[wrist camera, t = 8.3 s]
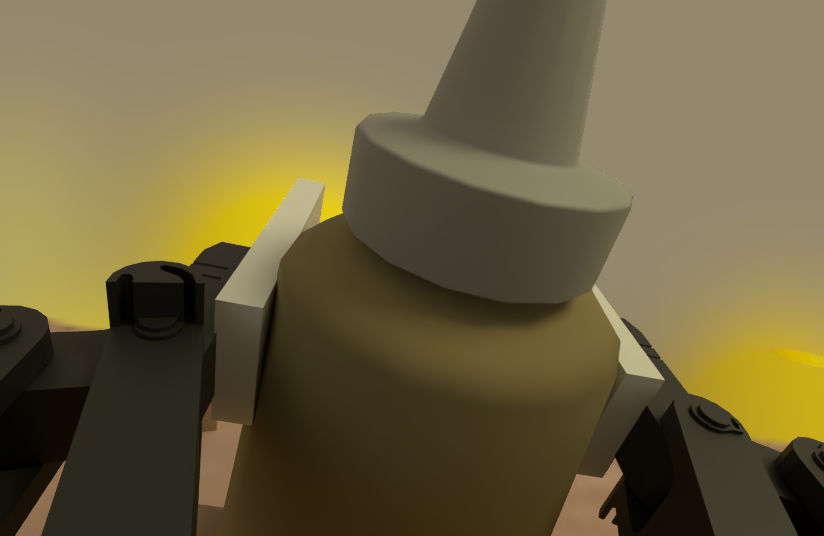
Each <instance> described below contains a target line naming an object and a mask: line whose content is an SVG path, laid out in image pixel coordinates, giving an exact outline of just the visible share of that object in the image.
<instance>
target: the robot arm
mask: <svg viewBox="0 0 824 536" xmlns="http://www.w3.org/2000/svg"><path fill="white" fill-rule="evenodd" d="M324 189H325V183H321V182H316V181H312V180H307V179H302V178H299V179H298V180H297V181H296V183H295V184H294V186H293V187H292V189H291V190H290V192H289V193H288V195H287V196H286V198H285V199H284V200H283V202H282V203H281V205H280V206H279V208H278V209H277V210H276V212H275V213H274V215H273V216H272V218H271V219H270V221H269V222H268V224H267V225H266V226H265V228H264V229H263V231H262V232H261V234H260V235H259V237H258V238H257V240H256V241H255V242H254V244H253V245H252V247H246V246H241V245H235V244H230V243H225V242H220V243H218V244H216V245H214V246H212V247H209V248H207V249H205V250H204V251H203V252H202V253H201V254H200V255H199V256H198V257H197V258H196V260H195V261H194V263H193V264H191V265H190V266H186V265H183V264H180V263H175V262H166V261H152V262H141V263H137V264H133V265H129V266H126V267H124V268H122V269H120V270H118V271H116V272H114V273H113V274H112V275H111V276H110V277H109V278H108V280H107V281H106V290H107V299H108V310H109V320H110V329H106V330H97V331H78V332H50V329H49V324H48V320H47V317H46V316H45V315H43V314H42V313H41V312H39V311H38V310H36V309H31V308H27V307H23V306H5V305H3V306H1V305H0V536H15V535H16V533H17V532H18V530H19V529H20V527H21V526H22V524H23V523H24V521H25V519H26V518H27V516H28V515H29V513H30V512H31V510H32V509H33V507H34V506H35V504H36V503H37V501H38V500H39V498H40V497H41V495H42V494H43V492H44V491H45V489H46V488H47V486H48V485H49V483H50V482H51V480H52V479H53V477H54V476H55V474H56V472H57V471H58V469H59V468H60V466H61V465H62V463H63V462H64V461H66V462H65V465H64V468H63V471H62V474H61V477H60V480H59V483H58V486H57V489H56V492H55V495H54V498H53V502H52V505H51V508H50V511H49V514H48V517H47V520H46V523H45V526H44V529H43V532H42V535H41V536H197V517H198V497H199V478H200V459H201V439H202V418H203V417H204V415H205V413H206V411H207V409H208V407H209V405H210V403H211V401H212V410H211V420H217V421H224V422H231V423H238V424H244V425H251V426H252V425H253V421H254V415H255V409H256V403H257V397H258V391H259V385H260V379H261V373H262V367H263V361H264V355H265V350H266V344H267V338H268V332H269V326H270V320H271V314H272V308H273V302H274V296H275V290H276V284H277V273H278V269H279V264H280V260H281V259H282V257H283V256H284V255H285V253H286V252H287V251H288V249H289V248H290V247H291V245H292V244H293V243H294V241H295V240H296V239H297V237H298V236H299V235H300V234H301V232H303V231H305V230H307V229H309V228H311V227H313V226H315V225H317V224H319V223H320V216H321V209H322V202H323V195H324ZM592 291H593V293H594V295H595V296H596V298H597V300H598V302H599V303H600V305H601V307H602V309H603V310H604V312H605V314H606V316H607V318H608V319H609V321H610V323H611V325H612V327H613V328H614V330H615V332H616V334H617V335H618V337H619V339H620V341H621V344H620V352H619V360H618V368H617V377H616V380H615V382H614V385H613V387H612V390H611V392H610V394H609V397H608V399H607V402H606V404H605V406H604V409H603V411H602V414H601V416H600V418H599V421H598V423H597V426H596V428H595V430H594V433H593V435H592V438H591V440H590V442H589V445H588V447H587V450H586V452H585V454H584V457H583V459H582V462H581V464H580V466H579V469H578V471H577V474H580V475H587V476H594V477H600V478H603V476H604V474H605V473H606V471H607V470H608V468H609V467H610V465H611V464H612V462H613V460H614V459H615V458H616V460H617V462H618V464H619V466H620V468H621V471H622V473H623V475H622V477H621V478H620V480H619V481H618V483H617V484H616V486H615V487H614V489H613V490H612V492H611V493H610V495H609V496H608V498H607V499H606V501H605V502H604V504H603V505H602V507H601V508H600V512H599V518H601V519H603V520H604V519H605V517H606V516H607V514H608V513H609V512H610V510H611V509H612V507H613V508H616V516H615V517H614V519H613V520H612V523H613V524H615V525H617V526H618V534H619V536H824V443H823V442H820V441H817V440H814V439H811V438H806V437H797V438H796V439H794V440H792V442H791V443H790V444H789V445H788V446H787V447H786V448H785V449H784V451H783V452H782V453H781V452H779V451H776V450H774V449H771V448H769V447H766V446H763V445H761V444H758V443H756V442H753V441H751V439H750V437H749V435H748V433H747V431H746V430H745V429H744V427H743V426H742V424H741V423H740V422H739V421H738V420H737V419H736V418H734V417H733V416H732V415H731V414H730V413H729V412H727V411H726V410H724V409H723V408H721V407H720V406H718V405H717V404H715V403H713V402H711V401H709V400H707V399H705V398H703V397H699V396H695V395H692V394H688V393H687V392H686V390H685V389H684V388H683V386H682V385H681V384H680V382H679V381H678V380H677V378H676V377H675V376H674V375H673V373H672V372H671V371H670V369H669V368H668V367H667V365H666V364H665V363H664V362H663V360H660V356H659V355H658V354H657V352H656V351H655V350H654V349H652V348H651V345H650V343H649V342H648V341H647V339H646V338H645V337H644V335H643V334H642V333H641V332H640V331H639V330H638V329H636V328H635V327H634V326H633V325H631V324H630V323H629V322H628V321H626V320H625V319H623V318H619V316H618V315H617V314H616V312H615V311H614V310H613V308H612V307H611V306H610V304H609V303H608V302H607V300H606V299H605V297H604V296H603V295H602V293H601V292H600V290H599V289H598V288H597V286H596V285H595V284H594V286H593V288H592Z"/></svg>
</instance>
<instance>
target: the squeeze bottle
mask: <svg viewBox="0 0 824 536" xmlns="http://www.w3.org/2000/svg"><path fill="white" fill-rule="evenodd" d="M606 2H607V0H477V2H476V4H475V6H474V8H473V10H472V13H471V14H470V17H469V19H468V21H467V23H466V25H465V28H464V30H463V32H462V34H461V36H460V38H459V41H458V43H457V45H456V47H455V49H454V51H453V54H452V56H451V58H450V60H449V62H448V65H447V67H446V69H445V71H444V73H443V76H442V78H441V80H440V82H439V84H438V86H437V88H436V91H435V93H434V95H433V97H432V99H431V102H430V104H429V106H428V108H427V110H426V113H425V115H421V114H410V113H399V112H389V113H378V114H370V115H368V116H367V117H366V118H365V119H364V120H363V121H362V122H361V123H360V124H359V125H357V126H356V129H355V135H354V141H353V147H352V153H351V159H350V164H349V170H348V176H347V182H346V189H345V194H344V201H343V206H342V211H343V213H342V214H340V215H337V216H335V217H332V218H330V219H327V220H325V221H323V222H321V223H319V224H317V225H315V226H313V227H311V228H309V229H307V230H305V231H303V232H301V234H300V235H299V236H298V237H297V239H296V240H295V241H294V243H293V244H292V245H291V247H290V248H289V249H288V251H287V252H286V253H285V255H284V256H283V257H282V259H281V260H280V264H279V269H278V273H277V284H276V290H275V296H274V302H273V308H272V314H271V320H270V326H269V332H268V338H267V344H266V350H265V355H264V361H263V367H262V373H261V379H260V385H259V391H258V397H257V403H256V409H255V415H254V421H253V425H252V426H251V425H244V424H243V426H242V431H241V435H240V440H239V444H238V448H237V453H236V457H235V461H234V466H233V470H232V475H231V479H230V483H229V488H228V492H227V496H226V501H225V505H224V510H223V514H222V518H221V523H220V527H219V536H551V534H552V531H553V529H554V526H555V524H556V522H557V519H558V517H559V514H560V512H561V510H562V507H563V505H564V502H565V500H566V498H567V495H568V493H569V490H570V488H571V486H572V483H573V481H574V478H575V476H576V474H577V471H578V469H579V466H580V464H581V462H582V459H583V457H584V454H585V452H586V450H587V447H588V445H589V442H590V440H591V438H592V435H593V433H594V430H595V428H596V426H597V423H598V421H599V418H600V416H601V414H602V411H603V409H604V406H605V404H606V402H607V399H608V397H609V394H610V392H611V390H612V387H613V385H614V382H615V380H616V377H617V368H618V360H619V352H620V344H621V341H620V339H619V337H618V335H617V334H616V332H615V330H614V328H613V327H612V325H611V323H610V321H609V319H608V318H607V316H606V314H605V312H604V310H603V309H602V307H601V305H600V303H599V302H598V300H597V298H596V296H595V295H594V293H593V291H592V288H593V286H594V284H595V282H596V280H597V278H598V276H599V274H600V272H601V270H602V267H603V266H604V264H605V262H606V259H607V257H608V255H609V253H610V251H611V249H612V247H613V245H614V243H615V241H616V239H617V237H618V235H619V232H620V231H621V229H622V227H623V224H624V222H625V220H626V218H627V216H628V214H629V212H630V210H631V205H632V199H633V196H632V193H631V191H630V190H629V189H628V188H627V187H626V186H624V185H623V184H622V183H621V182H620V181H618V180H617V179H616V178H615V177H614V176H613V175H611V174H609V173H607V172H605V171H603V170H601V169H599V168H597V167H595V166H593V165H591V164H589V163H588V162H586V161H584V160H581V159H579V154H580V148H581V143H582V137H583V132H584V126H585V120H586V115H587V109H588V103H589V98H590V92H591V86H592V81H593V75H594V70H595V63H596V58H597V53H598V47H599V41H600V36H601V30H602V25H603V19H604V13H605V8H606Z"/></svg>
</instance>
